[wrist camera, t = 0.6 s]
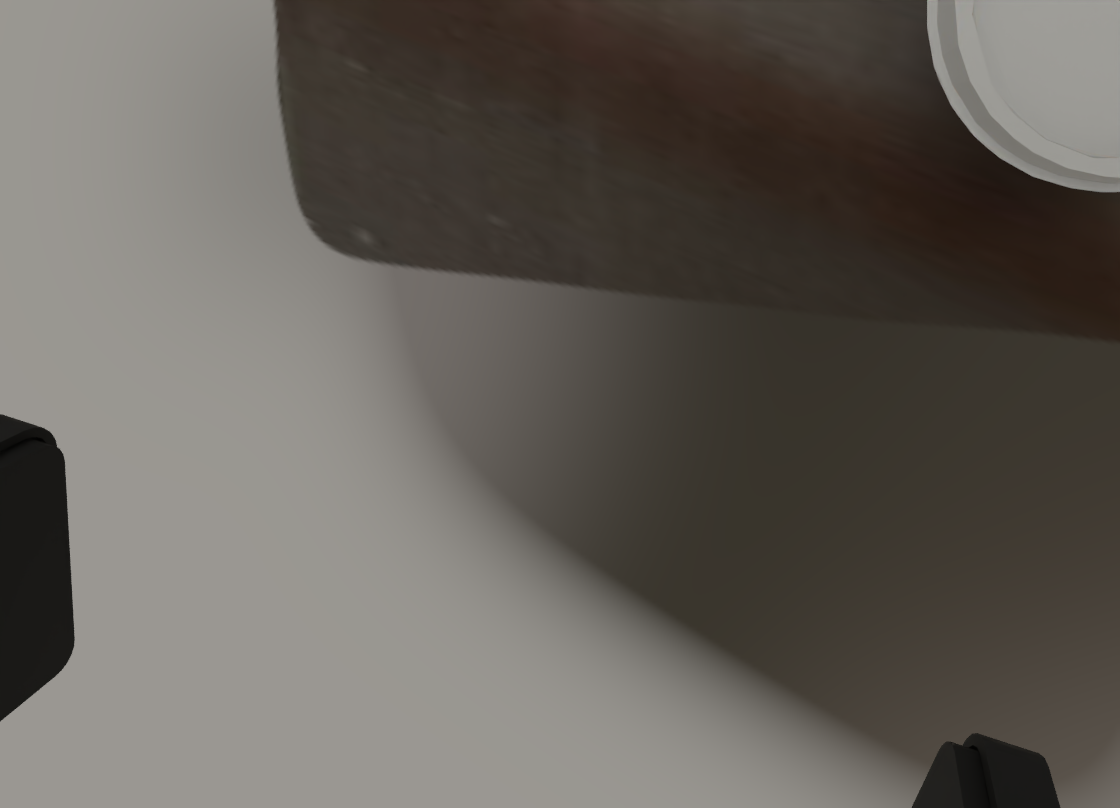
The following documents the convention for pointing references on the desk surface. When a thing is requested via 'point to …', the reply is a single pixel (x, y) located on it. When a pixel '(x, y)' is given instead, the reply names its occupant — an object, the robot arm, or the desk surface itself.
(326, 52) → the desk surface
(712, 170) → the desk surface
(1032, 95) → the disposable coffee cup
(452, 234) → the desk surface
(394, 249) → the desk surface
